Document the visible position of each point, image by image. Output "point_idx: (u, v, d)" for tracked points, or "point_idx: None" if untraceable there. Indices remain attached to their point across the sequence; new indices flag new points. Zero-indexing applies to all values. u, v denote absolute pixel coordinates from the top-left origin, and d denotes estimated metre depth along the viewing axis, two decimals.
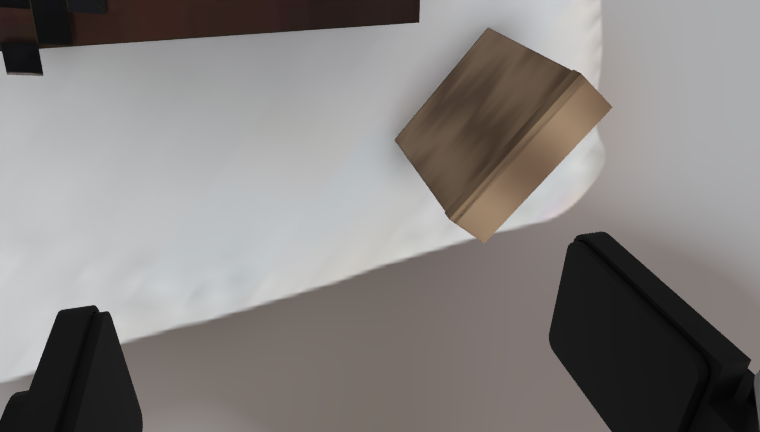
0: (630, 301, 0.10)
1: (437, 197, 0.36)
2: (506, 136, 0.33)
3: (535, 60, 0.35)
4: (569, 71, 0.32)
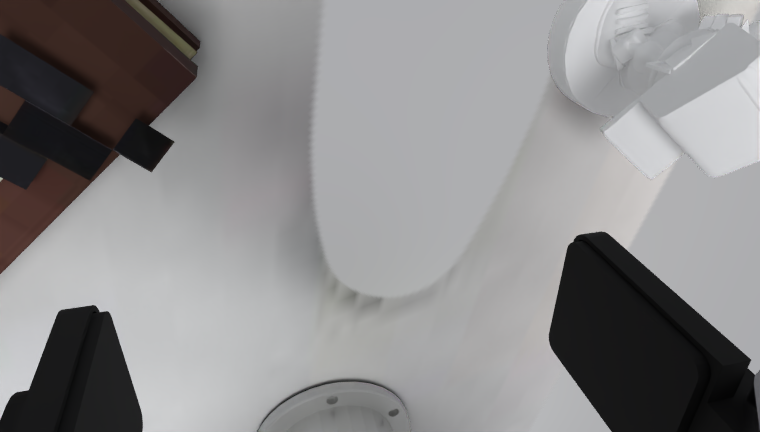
0: (630, 301, 0.10)
1: None
2: None
3: None
4: None
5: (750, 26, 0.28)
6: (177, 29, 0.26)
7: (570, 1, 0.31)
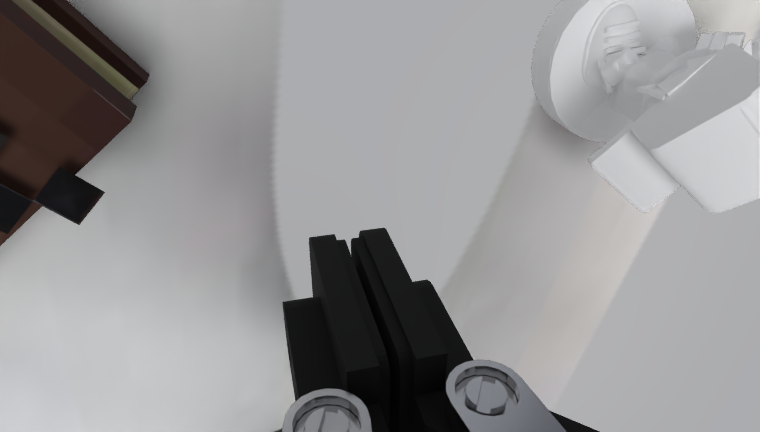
0: None
1: None
2: None
3: None
4: None
5: (753, 45, 0.25)
6: (121, 62, 0.24)
7: (555, 18, 0.28)
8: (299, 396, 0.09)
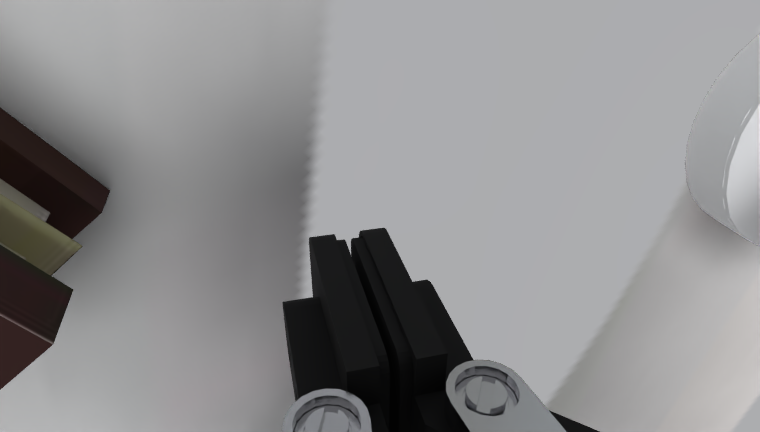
0: None
1: None
2: None
3: None
4: None
5: None
6: (57, 183, 0.14)
7: (739, 74, 0.18)
8: (299, 396, 0.09)
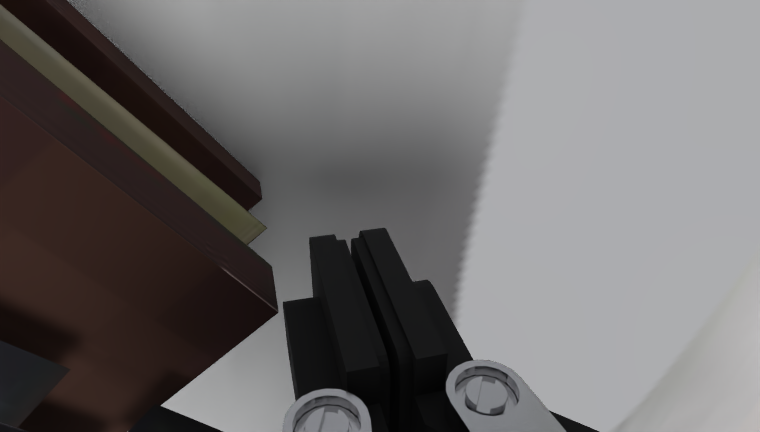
0: None
1: None
2: None
3: None
4: None
5: None
6: (228, 171, 0.15)
7: None
8: (299, 396, 0.09)
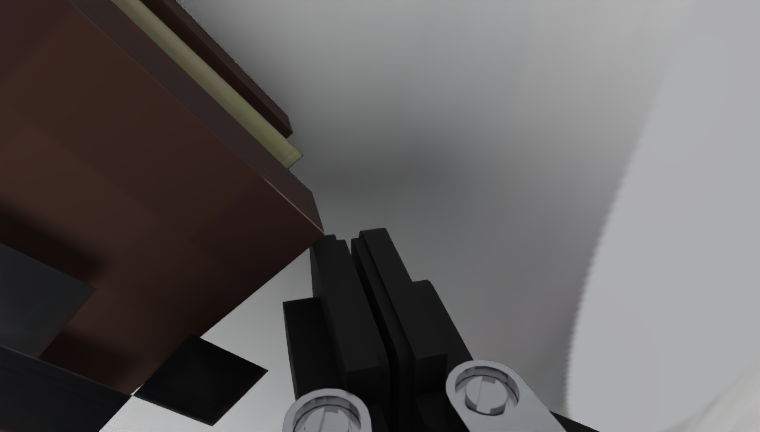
0: None
1: None
2: None
3: None
4: None
5: None
6: (257, 100, 0.14)
7: None
8: (299, 396, 0.09)
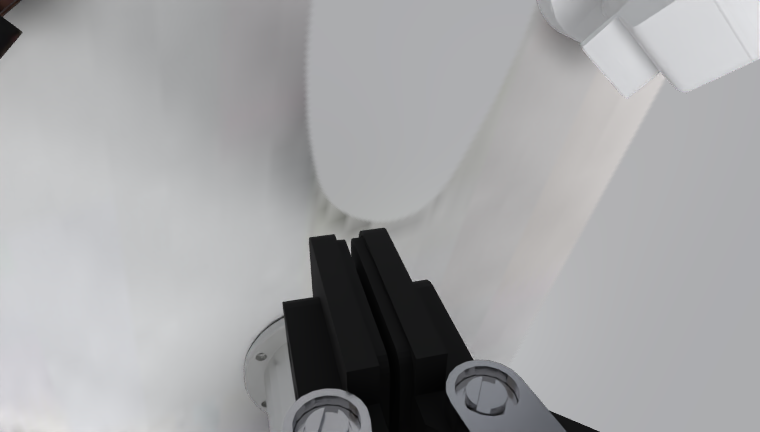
0: None
1: None
2: None
3: None
4: None
5: None
6: None
7: None
8: (299, 396, 0.09)
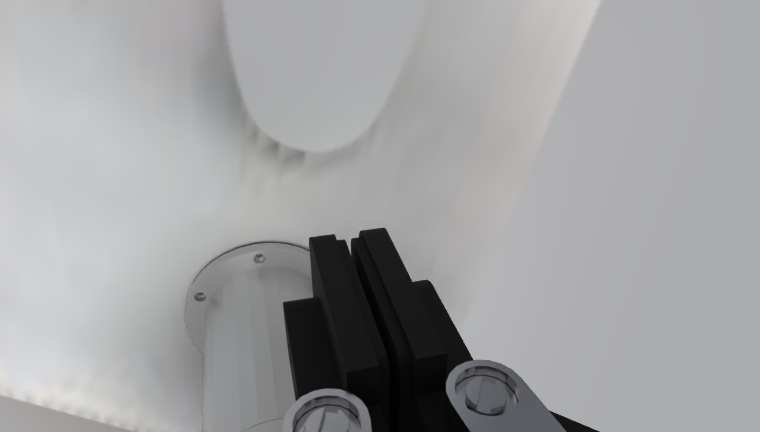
0: None
1: None
2: None
3: None
4: None
5: None
6: None
7: None
8: (299, 396, 0.09)
